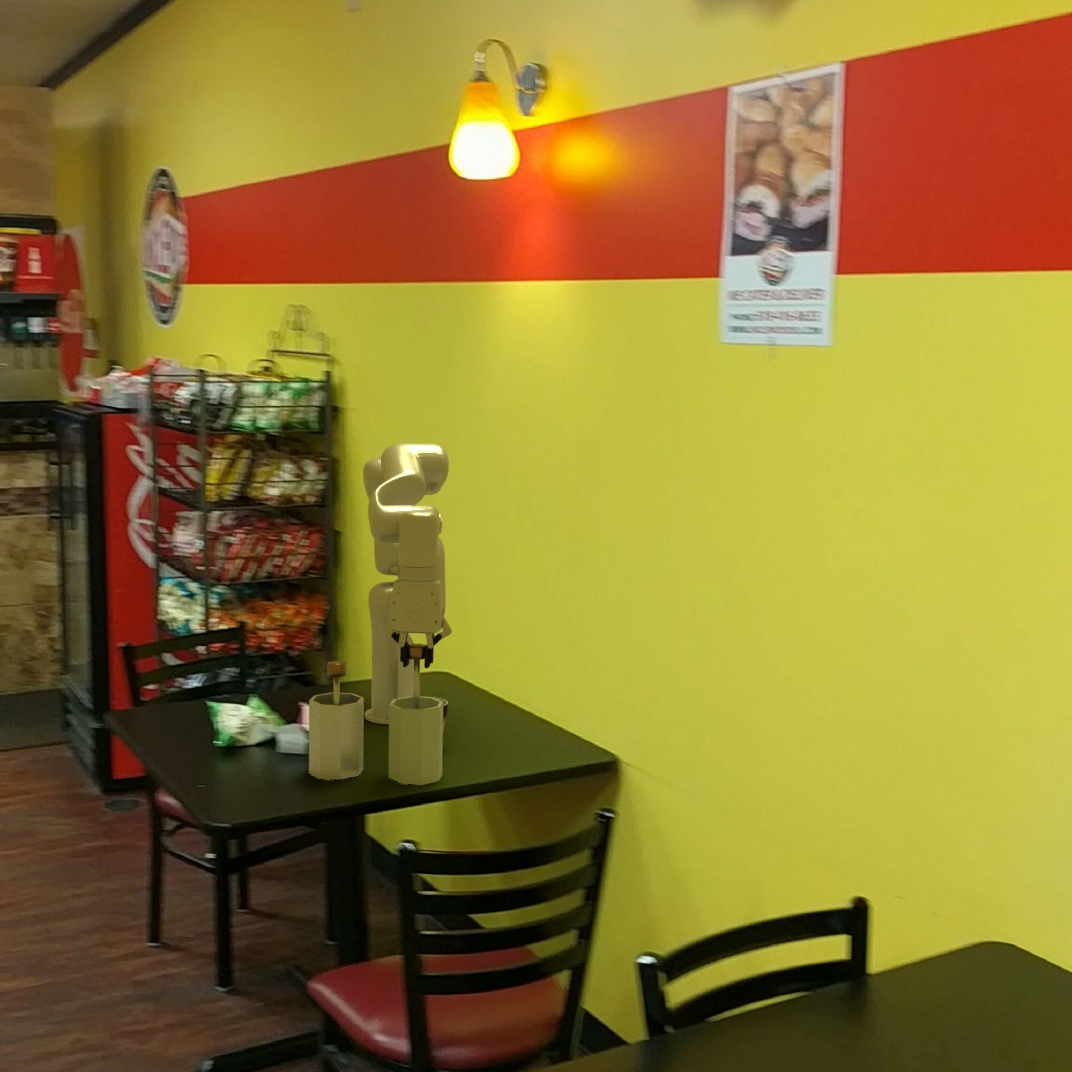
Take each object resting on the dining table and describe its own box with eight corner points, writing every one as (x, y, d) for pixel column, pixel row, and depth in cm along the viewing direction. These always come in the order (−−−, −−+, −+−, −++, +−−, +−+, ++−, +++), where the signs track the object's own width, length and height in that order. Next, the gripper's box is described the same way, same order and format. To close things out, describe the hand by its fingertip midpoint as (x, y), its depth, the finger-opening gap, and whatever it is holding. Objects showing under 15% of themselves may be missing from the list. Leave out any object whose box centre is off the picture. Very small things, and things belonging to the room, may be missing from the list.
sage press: (395, 767, 267) (396, 695, 264) (444, 770, 266) (445, 697, 264) (385, 783, 257) (386, 708, 255) (436, 786, 256) (437, 710, 254)
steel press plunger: (322, 740, 266) (322, 657, 264) (359, 742, 265) (359, 659, 263) (312, 751, 258) (312, 666, 256) (350, 753, 258) (351, 668, 255)
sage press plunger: (400, 723, 264) (401, 640, 262) (438, 725, 263) (439, 642, 261) (393, 734, 256) (394, 649, 254) (431, 736, 256) (432, 650, 253)
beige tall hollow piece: (318, 763, 268) (318, 691, 266) (366, 765, 267) (367, 694, 265) (305, 779, 258) (305, 704, 256) (355, 781, 257) (355, 707, 255)
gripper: (371, 575, 253) (371, 668, 255) (457, 578, 251) (455, 672, 254) (379, 569, 260) (379, 660, 263) (463, 572, 259) (461, 663, 261)
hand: (416, 665), depth 258 cm, fingers closed on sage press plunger, 3 cm apart
